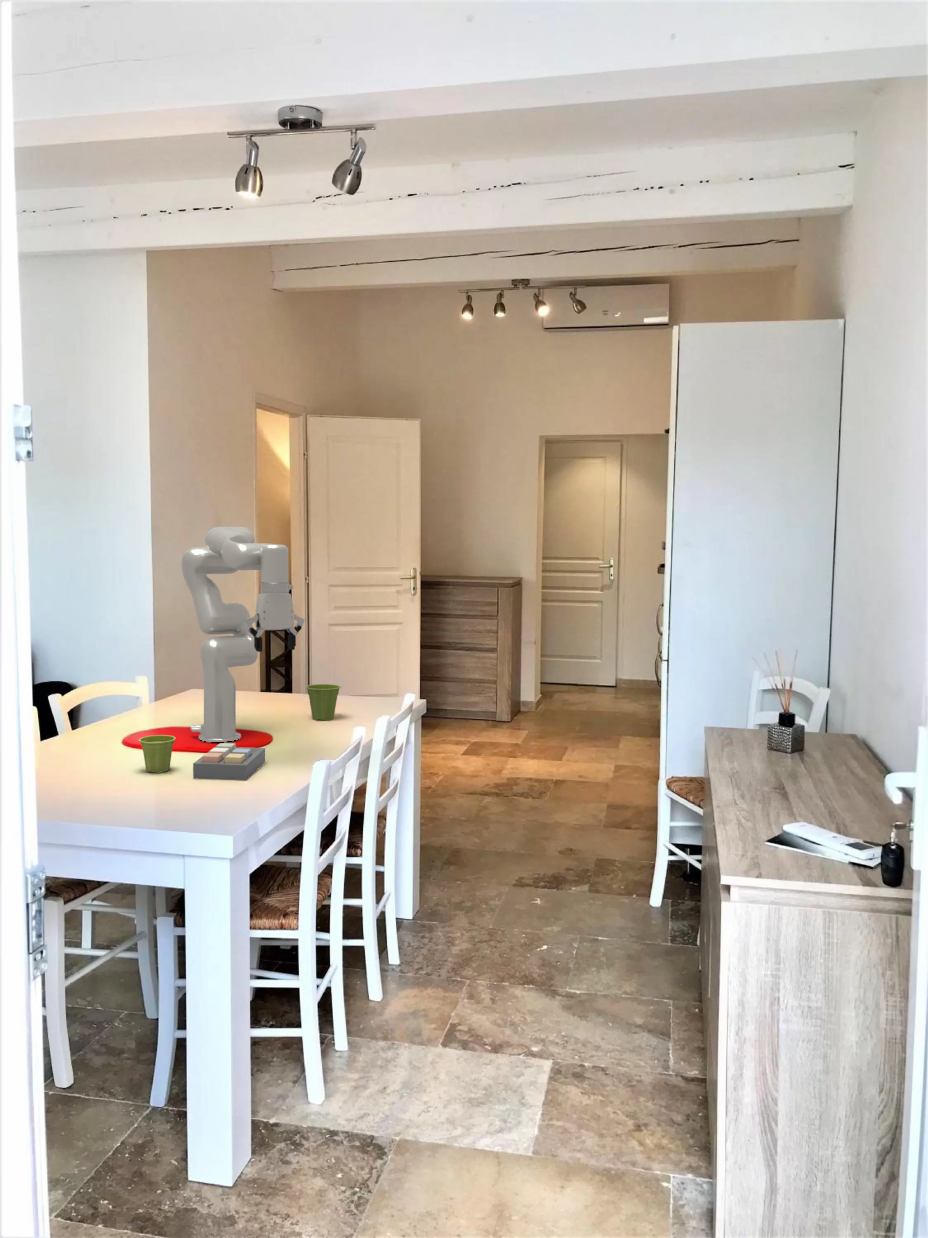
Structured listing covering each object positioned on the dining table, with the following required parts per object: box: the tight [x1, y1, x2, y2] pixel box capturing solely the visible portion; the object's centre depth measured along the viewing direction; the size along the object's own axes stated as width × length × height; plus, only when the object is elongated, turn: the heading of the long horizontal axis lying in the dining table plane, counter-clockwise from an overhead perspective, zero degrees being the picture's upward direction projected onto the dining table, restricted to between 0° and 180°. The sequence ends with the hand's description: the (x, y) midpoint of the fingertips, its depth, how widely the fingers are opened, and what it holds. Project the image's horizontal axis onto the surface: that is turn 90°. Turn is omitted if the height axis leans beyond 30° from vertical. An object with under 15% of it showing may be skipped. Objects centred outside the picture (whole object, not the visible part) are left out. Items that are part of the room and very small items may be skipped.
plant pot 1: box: [138, 734, 176, 774], centre depth 273 cm, size 9×9×9 cm
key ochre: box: [225, 753, 245, 764], centre depth 269 cm, size 4×4×3 cm
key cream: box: [209, 747, 229, 758], centre depth 275 cm, size 4×4×3 cm
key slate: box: [232, 748, 251, 758], centre depth 275 cm, size 4×4×3 cm
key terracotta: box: [203, 752, 223, 763], centre depth 269 cm, size 4×4×3 cm
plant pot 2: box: [305, 683, 342, 722], centre depth 347 cm, size 12×12×11 cm
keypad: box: [192, 746, 266, 781], centre depth 275 cm, size 14×20×4 cm
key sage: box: [215, 742, 237, 752], centre depth 281 cm, size 4×4×3 cm
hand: (275, 650), depth 283 cm, fingers open, 9 cm apart
